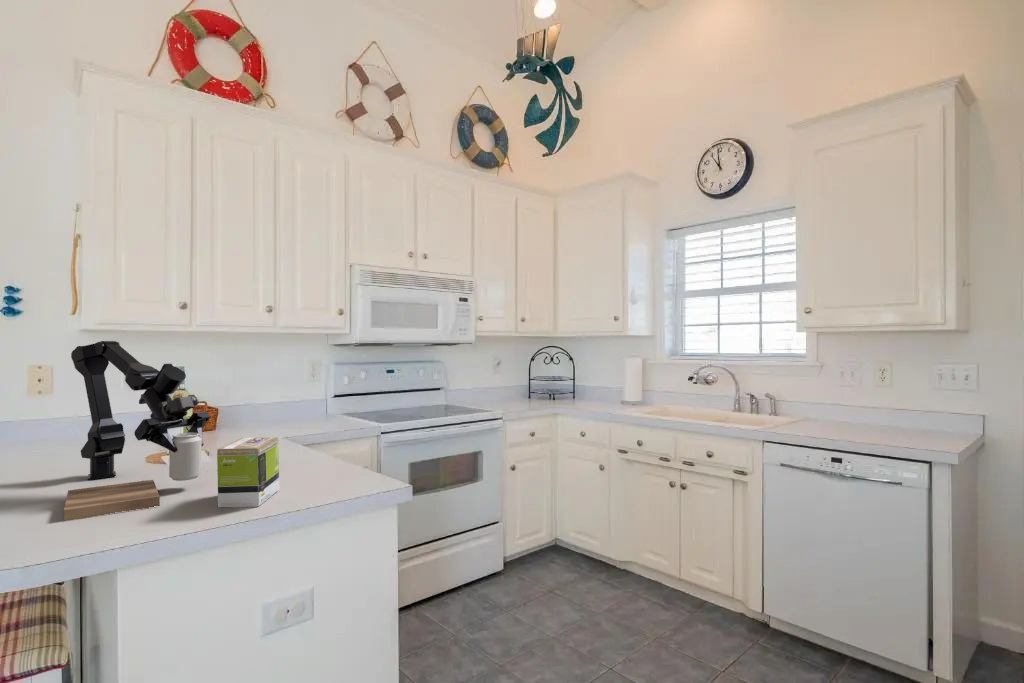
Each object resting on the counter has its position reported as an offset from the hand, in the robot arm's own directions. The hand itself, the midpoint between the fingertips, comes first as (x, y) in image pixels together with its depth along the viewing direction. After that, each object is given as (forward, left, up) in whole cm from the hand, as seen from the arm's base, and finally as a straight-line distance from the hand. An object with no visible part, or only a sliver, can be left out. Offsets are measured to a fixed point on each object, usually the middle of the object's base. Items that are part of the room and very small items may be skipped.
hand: (189, 448), depth 147 cm
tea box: (+19, +11, -11) cm, 25 cm away
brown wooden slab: (+3, -17, -12) cm, 21 cm away
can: (-1, -1, -8) cm, 8 cm away
